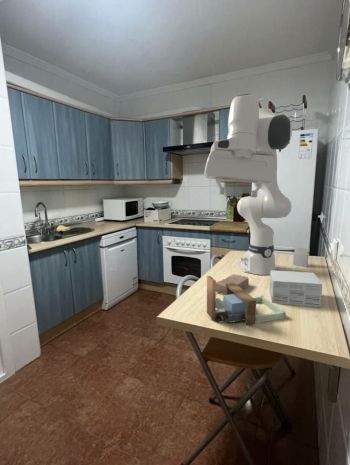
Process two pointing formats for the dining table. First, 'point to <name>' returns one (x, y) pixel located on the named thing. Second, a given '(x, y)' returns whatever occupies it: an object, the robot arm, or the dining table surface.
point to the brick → (236, 279)
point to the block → (234, 303)
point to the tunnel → (250, 301)
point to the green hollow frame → (270, 316)
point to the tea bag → (300, 257)
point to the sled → (219, 304)
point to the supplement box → (295, 288)
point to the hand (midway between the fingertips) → (237, 195)
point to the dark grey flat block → (219, 319)
